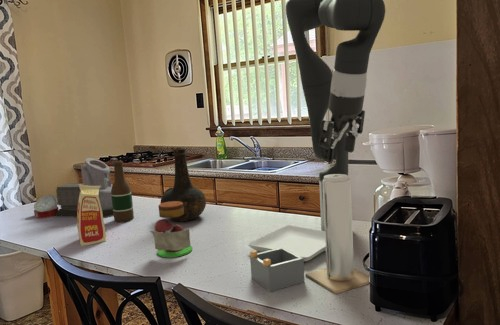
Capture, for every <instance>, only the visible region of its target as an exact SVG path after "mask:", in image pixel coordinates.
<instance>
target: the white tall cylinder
mask: <svg viewBox="0 0 500 325" xmlns="http://www.w3.org/2000/svg"><path fill="white" fill-rule="evenodd" d="M323 200H324V222H325V243H326V250H325V261H326V268H327V277H328V278H329V279H331V280H334V281H348V280H351V279H353V278H354V268H355V265H354V264H355V263H354V260H355V259H354V237H353V236H354V235H353V232H354V231H353V209H352V208H353V207H352V205H353V204H352V203H353V202H352V181H351V178H349V174H348V175H345V174H330V175H325V176H324V179H323Z"/></svg>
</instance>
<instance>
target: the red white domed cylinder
mask: <svg viewBox="0 0 500 325" xmlns="http://www.w3.org/2000/svg"><path fill="white" fill-rule="evenodd" d="M33 209H34V210H33V214H34V218H35V219H45V218H47V219H48V218H51V217H55V216H54V215H55V214H56V213H57V212H58V210H59V209H60V208H59V205H58V201H57V196H55V195H54V194H47V195H44V196H41V197H40V198H39V199H37V200H36V201H35V203H34V205H33Z"/></svg>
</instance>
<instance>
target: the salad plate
mask: <svg viewBox="0 0 500 325" xmlns="http://www.w3.org/2000/svg"><path fill="white" fill-rule="evenodd" d="M247 245H248V247H250V248H251V249H252V250H253V251H254V250H255V251H257V252H259V253H261V252H265V251H269V250H273V249H278V248H282V247H283V248H285V249H287V250H289V251H291V252H293V253H295V254H296V255H298V256H300V257H302V258H303V260H304V262H308V261H310V260H312V259H313V258H315V257H316V256H318V255H321V254H322V253H323V252H326V243H325V231H321V229H320V230H319V229H313V228H308V227H303V226H297V225H292V224H288V225H285V226H282V227H280V228H277V229H275V230H274V231H271V232H270V233H267V234H265V235H264V236H261V237H259V238H256V239H255V240H253V241H250V242H249V243H248V244H247Z"/></svg>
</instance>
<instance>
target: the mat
mask: <svg viewBox="0 0 500 325" xmlns="http://www.w3.org/2000/svg"><path fill="white" fill-rule="evenodd" d="M369 276H370V274H367V273H365V272H363V271H361V270H359V269H357V268H355V267H354V278H353V279H351V280H348V281H334V280H331V279H329V278H328V277H327V267H324V268H321V269H318V270H314V271H310V272H306V273H305V277H307V278H308V279H310V280H311V281H313V282H315V283H316V284H319V285H321V287H323V288H325V289H327V290H328V291H330V292H332V293H334V295H336V294H340V293H342V292H346V291H349V290H352V289H355V288H359V287H363V286H365V285H367V284H368V285H369V284H370V283H369Z"/></svg>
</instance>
